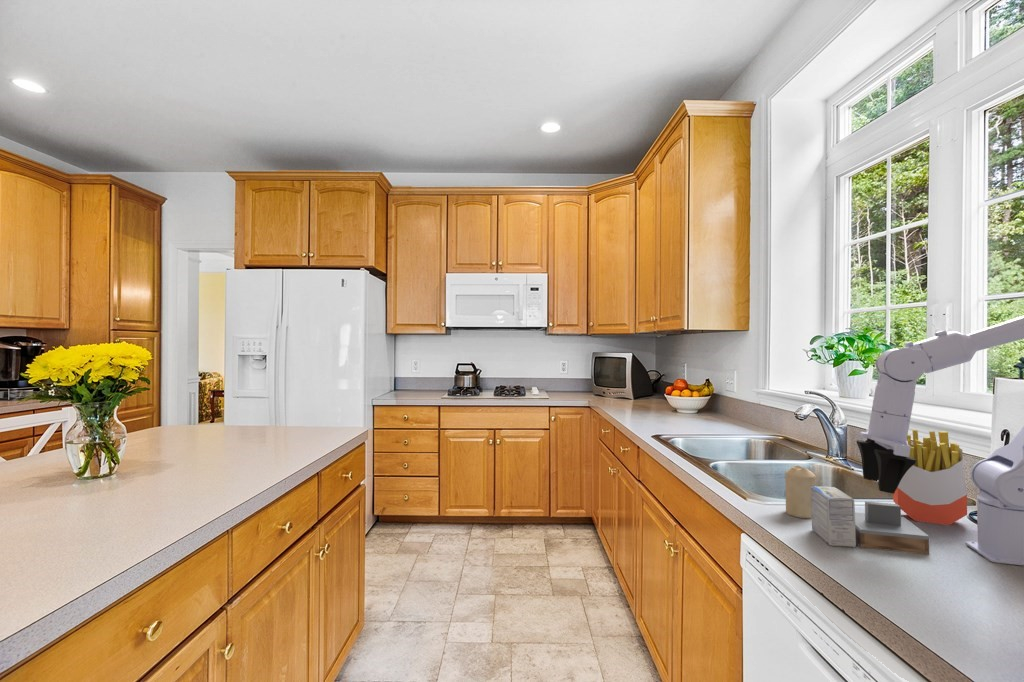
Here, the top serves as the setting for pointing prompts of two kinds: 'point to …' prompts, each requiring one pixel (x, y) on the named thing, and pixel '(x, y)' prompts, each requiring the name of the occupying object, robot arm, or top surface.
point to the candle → (799, 491)
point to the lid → (886, 521)
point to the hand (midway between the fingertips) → (878, 485)
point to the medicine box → (833, 516)
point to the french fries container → (933, 481)
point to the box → (892, 543)
